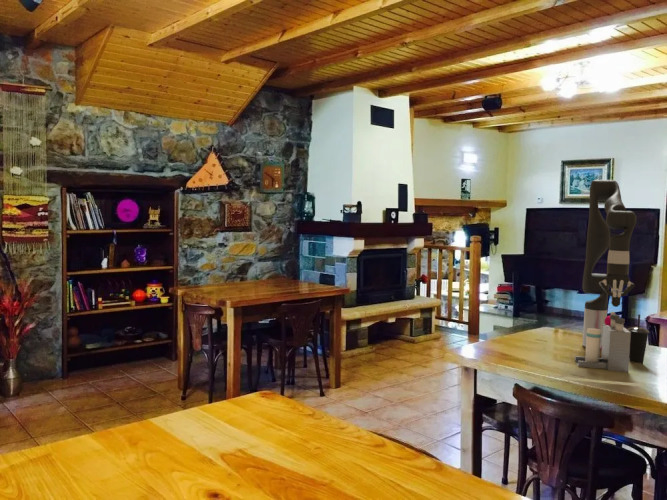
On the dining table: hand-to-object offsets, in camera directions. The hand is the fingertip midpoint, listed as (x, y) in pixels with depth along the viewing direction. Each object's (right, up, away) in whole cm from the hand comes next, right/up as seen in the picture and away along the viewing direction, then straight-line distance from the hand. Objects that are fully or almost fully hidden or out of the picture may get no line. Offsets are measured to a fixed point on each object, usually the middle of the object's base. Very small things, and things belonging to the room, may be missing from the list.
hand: (615, 306), depth 219 cm
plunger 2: (-2, -10, -7) cm, 13 cm away
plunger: (0, -10, +1) cm, 10 cm away
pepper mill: (+4, -24, +13) cm, 27 cm away
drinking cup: (+12, -24, +8) cm, 28 cm away
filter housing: (-7, -24, -1) cm, 25 cm away
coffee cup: (-9, -23, 0) cm, 25 cm away
